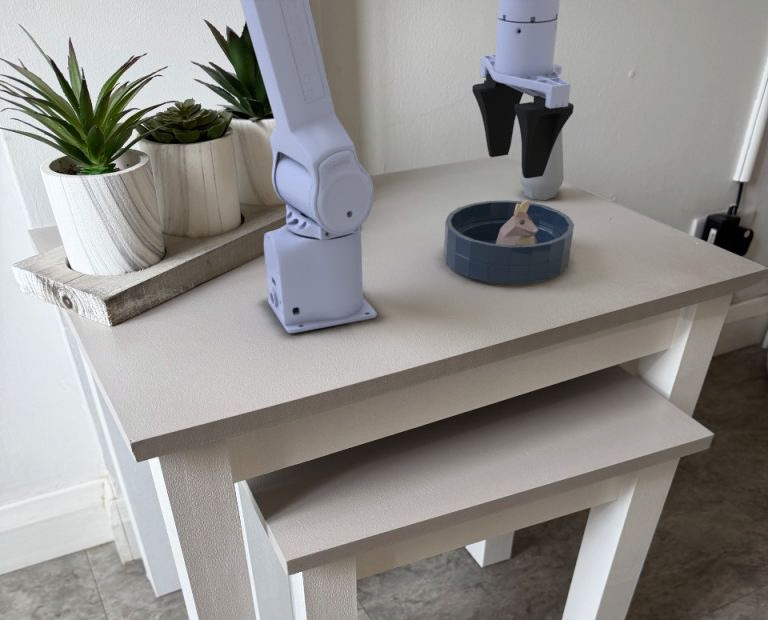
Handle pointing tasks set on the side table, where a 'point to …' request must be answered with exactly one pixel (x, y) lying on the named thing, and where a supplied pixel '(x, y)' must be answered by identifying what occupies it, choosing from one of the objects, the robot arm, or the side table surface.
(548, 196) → the salt shaker
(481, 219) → the bowl
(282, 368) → the side table surface
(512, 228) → the mouse figurine
